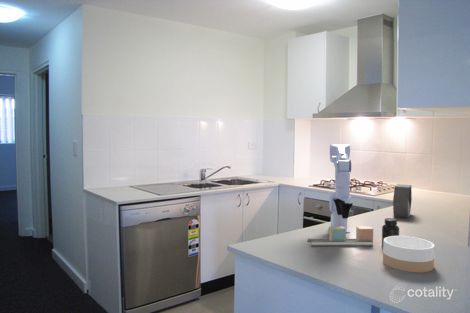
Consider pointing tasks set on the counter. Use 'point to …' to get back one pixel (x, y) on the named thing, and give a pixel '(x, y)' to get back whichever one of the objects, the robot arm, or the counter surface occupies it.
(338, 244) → the pair of grey rails
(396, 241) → the bowl
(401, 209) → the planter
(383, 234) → the supplement bottle
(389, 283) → the counter surface
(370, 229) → the faced tea box
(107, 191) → the counter surface
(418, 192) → the counter surface
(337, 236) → the box
